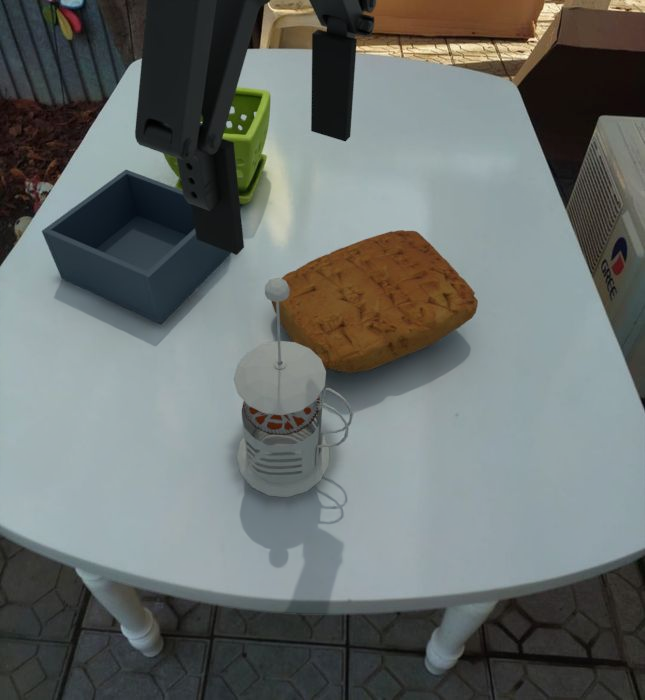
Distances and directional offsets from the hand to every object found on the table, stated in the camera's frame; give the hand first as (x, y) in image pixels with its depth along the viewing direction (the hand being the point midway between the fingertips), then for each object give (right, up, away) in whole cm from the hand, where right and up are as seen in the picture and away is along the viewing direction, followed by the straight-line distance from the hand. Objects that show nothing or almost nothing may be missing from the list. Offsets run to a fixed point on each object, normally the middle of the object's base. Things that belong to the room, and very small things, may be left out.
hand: (281, 183), depth 37 cm
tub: (-21, +1, +43) cm, 48 cm away
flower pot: (-13, +16, +56) cm, 60 cm away
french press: (-1, -22, +25) cm, 33 cm away
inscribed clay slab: (+8, -8, +37) cm, 39 cm away
